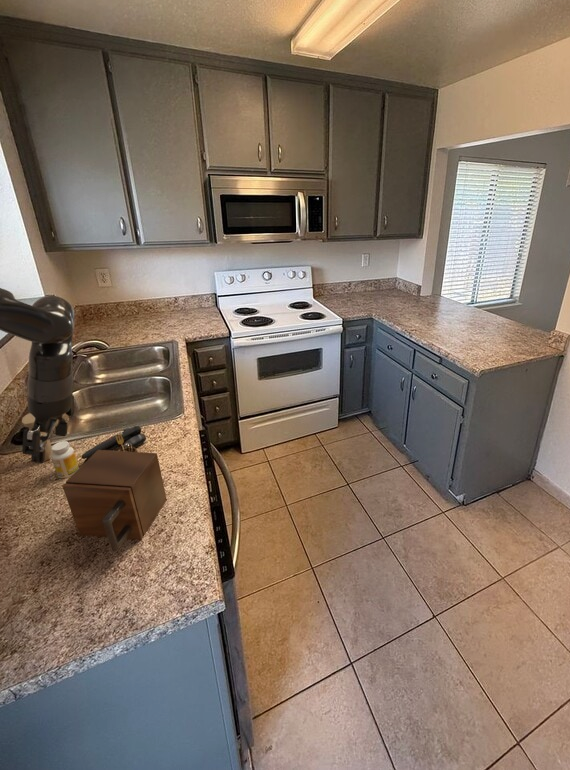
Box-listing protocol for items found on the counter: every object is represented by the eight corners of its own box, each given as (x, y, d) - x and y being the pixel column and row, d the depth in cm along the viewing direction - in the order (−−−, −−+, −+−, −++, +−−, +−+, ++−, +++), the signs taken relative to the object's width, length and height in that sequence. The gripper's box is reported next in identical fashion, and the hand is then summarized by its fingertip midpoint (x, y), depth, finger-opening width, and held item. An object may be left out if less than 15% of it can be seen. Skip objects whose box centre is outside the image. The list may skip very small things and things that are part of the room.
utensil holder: (126, 481, 101) (117, 447, 97) (115, 471, 105) (106, 438, 100) (146, 469, 106) (138, 436, 101) (135, 460, 109) (128, 428, 105)
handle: (36, 467, 106) (20, 425, 101) (38, 455, 111) (23, 414, 106) (56, 461, 109) (41, 420, 103) (57, 449, 114) (43, 409, 108)
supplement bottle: (55, 481, 101) (46, 454, 98) (59, 468, 106) (50, 442, 102) (78, 475, 103) (69, 448, 100) (80, 463, 108) (72, 437, 104)
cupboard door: (127, 563, 79) (112, 511, 73) (61, 557, 80) (41, 506, 74) (143, 537, 85) (130, 487, 79) (81, 532, 86) (64, 483, 80)
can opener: (141, 433, 121) (137, 420, 119) (148, 443, 117) (145, 429, 115) (80, 459, 110) (76, 444, 108) (86, 470, 105) (82, 455, 103)
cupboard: (144, 536, 85) (131, 486, 79) (82, 531, 86) (65, 481, 80) (166, 500, 95) (156, 453, 89) (111, 496, 96) (97, 449, 91)
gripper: (51, 368, 80) (50, 424, 86) (6, 406, 67) (9, 469, 73) (87, 375, 82) (84, 430, 88) (50, 414, 69) (49, 475, 75)
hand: (50, 447), depth 81 cm, fingers open, 8 cm apart
